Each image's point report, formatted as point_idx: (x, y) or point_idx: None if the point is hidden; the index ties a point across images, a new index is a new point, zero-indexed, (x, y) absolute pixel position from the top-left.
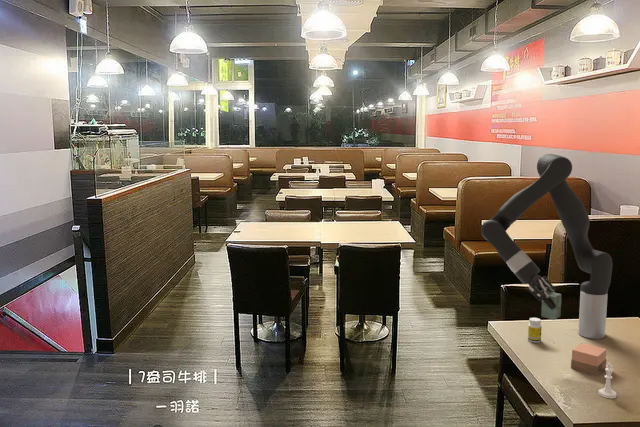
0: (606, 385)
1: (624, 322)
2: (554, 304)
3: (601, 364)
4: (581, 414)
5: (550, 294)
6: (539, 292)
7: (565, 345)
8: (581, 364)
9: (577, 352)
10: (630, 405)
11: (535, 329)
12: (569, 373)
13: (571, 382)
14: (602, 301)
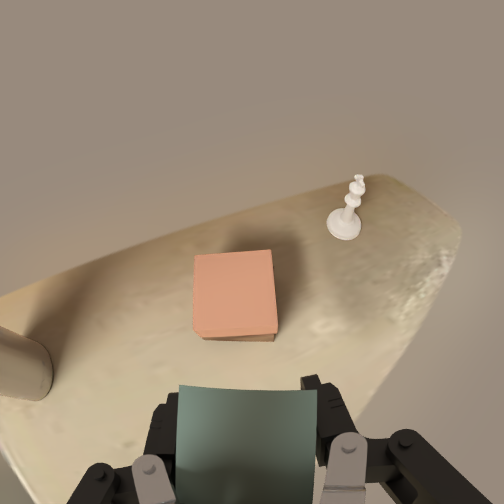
0: (353, 213)
1: None
2: (320, 384)
3: None
4: (443, 228)
5: (264, 458)
6: (450, 468)
7: (126, 412)
8: None
9: (276, 309)
10: (348, 186)
11: None
12: (309, 328)
13: (354, 299)
14: None
